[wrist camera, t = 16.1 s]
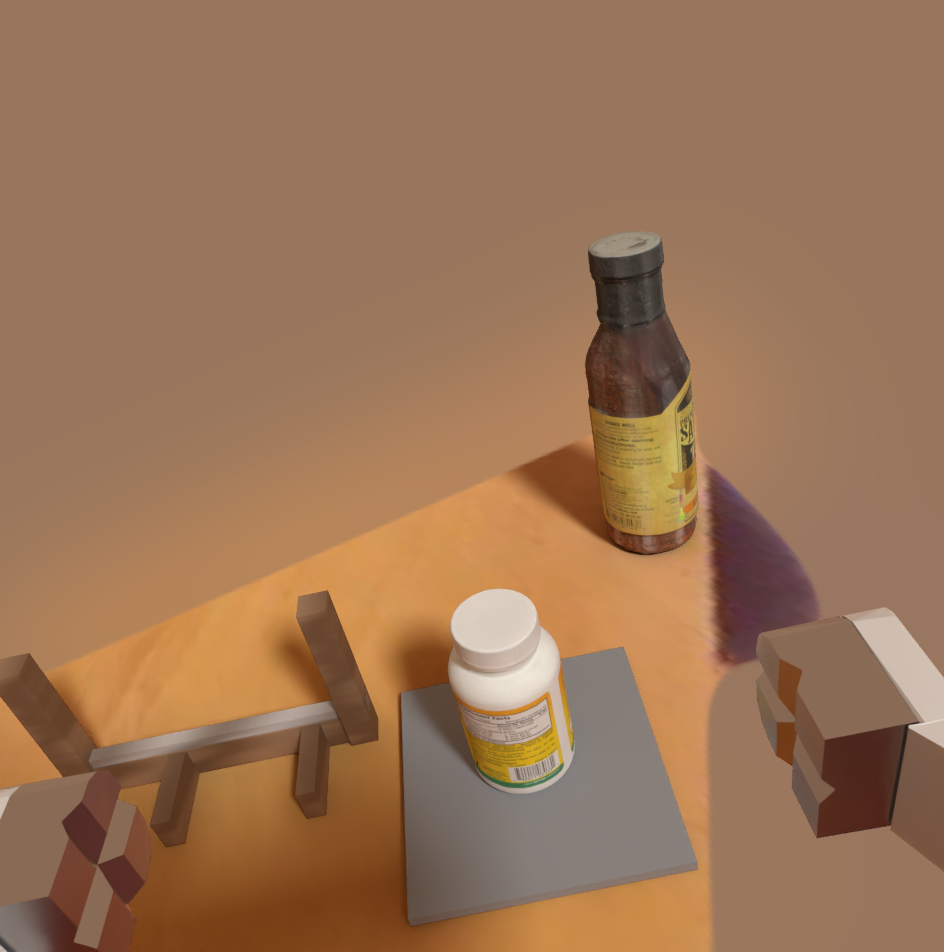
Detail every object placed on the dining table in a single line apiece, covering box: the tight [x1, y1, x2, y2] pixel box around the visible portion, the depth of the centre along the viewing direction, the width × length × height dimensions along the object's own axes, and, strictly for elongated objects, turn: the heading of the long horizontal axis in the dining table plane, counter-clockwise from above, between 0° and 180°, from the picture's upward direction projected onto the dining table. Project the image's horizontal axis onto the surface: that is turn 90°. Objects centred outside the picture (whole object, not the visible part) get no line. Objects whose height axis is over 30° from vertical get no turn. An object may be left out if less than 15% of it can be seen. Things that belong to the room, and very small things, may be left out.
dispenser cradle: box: [0, 590, 378, 847], centre depth 42 cm, size 17×6×10 cm, turn 96°
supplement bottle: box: [448, 589, 575, 794], centre depth 39 cm, size 5×5×10 cm
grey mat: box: [401, 647, 698, 926], centre depth 42 cm, size 13×13×1 cm
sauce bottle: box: [585, 231, 698, 554], centre depth 50 cm, size 6×6×20 cm
